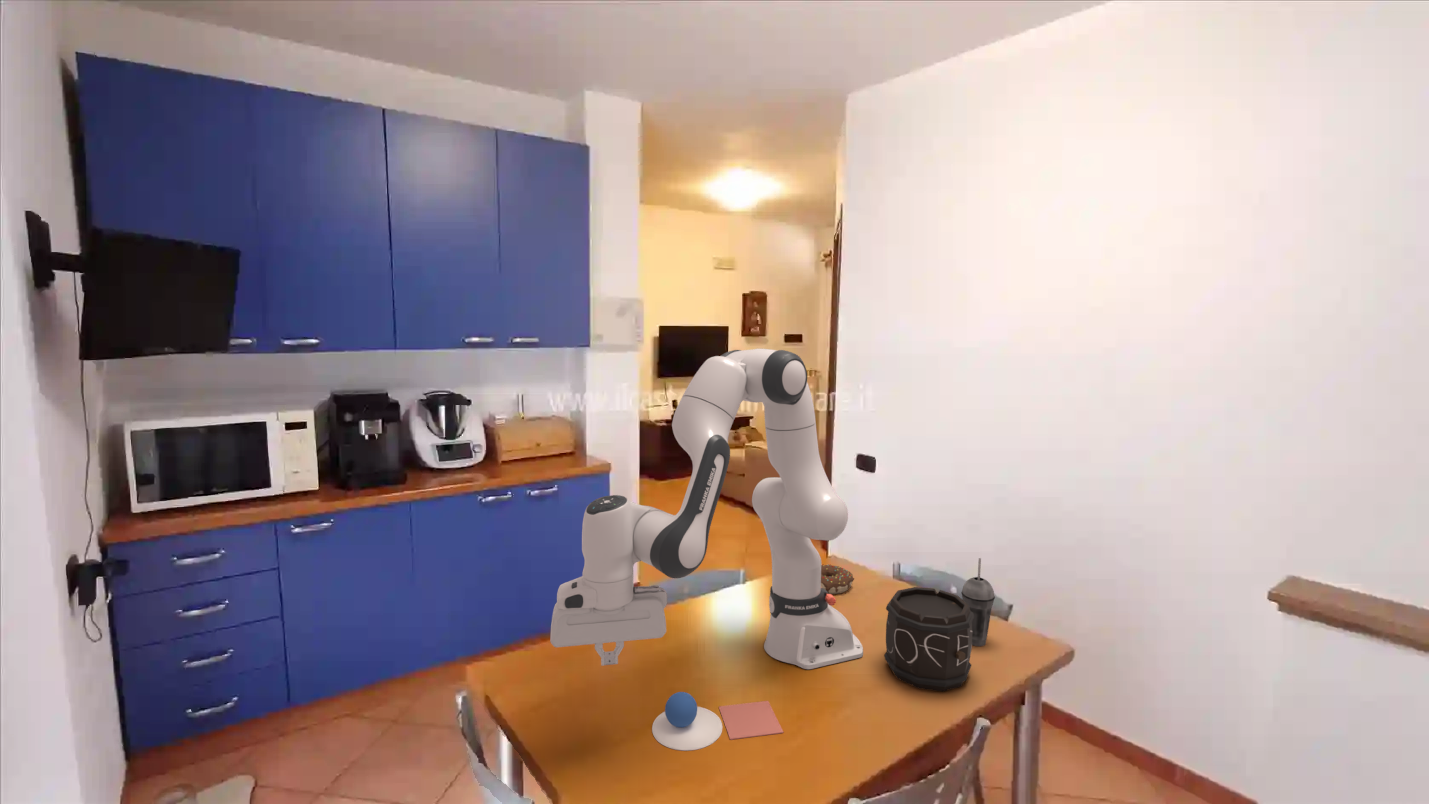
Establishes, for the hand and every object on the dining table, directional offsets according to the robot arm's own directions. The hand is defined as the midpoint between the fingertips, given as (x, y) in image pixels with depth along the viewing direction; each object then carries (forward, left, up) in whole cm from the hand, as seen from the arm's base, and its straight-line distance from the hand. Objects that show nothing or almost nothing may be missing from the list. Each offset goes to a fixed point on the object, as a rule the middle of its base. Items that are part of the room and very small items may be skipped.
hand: (609, 663), depth 114 cm
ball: (-13, -1, -11) cm, 17 cm away
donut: (-64, -56, -15) cm, 87 cm away
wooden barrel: (-68, -9, -14) cm, 70 cm away
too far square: (-26, 0, -14) cm, 30 cm away
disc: (-14, 0, -14) cm, 20 cm away
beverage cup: (-86, -19, -14) cm, 89 cm away
